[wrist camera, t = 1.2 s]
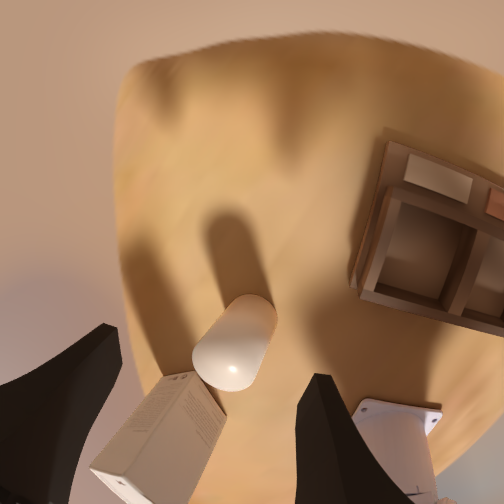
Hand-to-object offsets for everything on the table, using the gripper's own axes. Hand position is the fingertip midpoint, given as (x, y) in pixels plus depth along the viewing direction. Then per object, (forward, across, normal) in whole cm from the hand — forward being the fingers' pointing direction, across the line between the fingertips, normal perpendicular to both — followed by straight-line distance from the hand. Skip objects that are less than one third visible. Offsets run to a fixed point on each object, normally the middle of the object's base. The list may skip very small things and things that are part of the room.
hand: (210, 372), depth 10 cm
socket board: (+8, -13, -4) cm, 16 cm away
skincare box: (+9, +1, +15) cm, 17 cm away
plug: (+10, -2, +5) cm, 11 cm away
